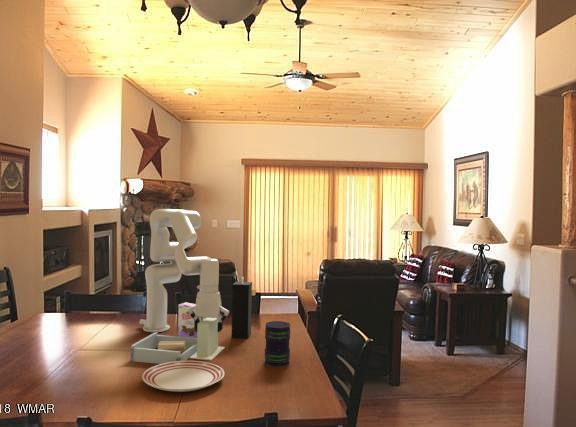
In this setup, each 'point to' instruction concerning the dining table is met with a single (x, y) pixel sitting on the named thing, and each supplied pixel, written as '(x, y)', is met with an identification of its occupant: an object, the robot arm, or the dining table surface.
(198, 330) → the pale green block
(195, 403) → the dining table surface
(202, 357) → the felt mat
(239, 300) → the tissue box
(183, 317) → the candy box
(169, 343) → the offcut upper
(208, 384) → the dinner plate
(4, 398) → the dining table surface
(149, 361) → the grey square tray frame
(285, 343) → the storage jar
